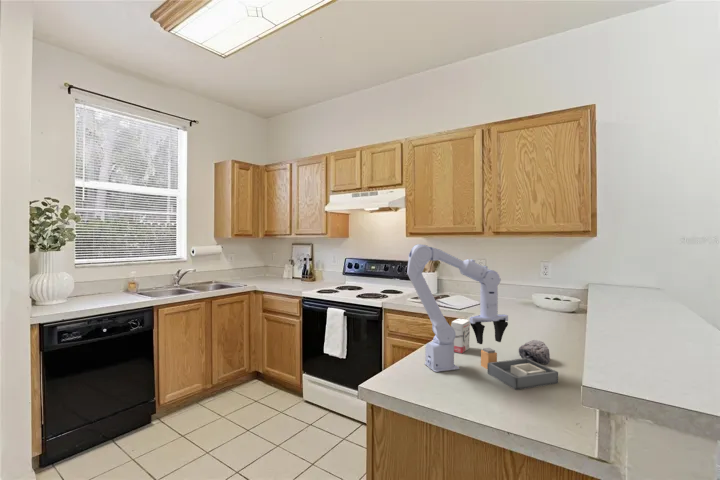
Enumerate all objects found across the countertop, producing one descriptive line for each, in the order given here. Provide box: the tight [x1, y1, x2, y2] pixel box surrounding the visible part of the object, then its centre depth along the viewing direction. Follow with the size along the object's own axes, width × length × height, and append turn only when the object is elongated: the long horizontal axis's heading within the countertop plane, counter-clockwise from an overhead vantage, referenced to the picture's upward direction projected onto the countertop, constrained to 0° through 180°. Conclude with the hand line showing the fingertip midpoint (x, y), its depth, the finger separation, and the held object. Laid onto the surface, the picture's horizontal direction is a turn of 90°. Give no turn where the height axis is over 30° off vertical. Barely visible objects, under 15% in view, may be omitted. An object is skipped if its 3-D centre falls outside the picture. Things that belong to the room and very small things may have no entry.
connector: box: [480, 347, 498, 370], centre depth 119 cm, size 4×4×6 cm
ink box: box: [450, 318, 471, 354], centre depth 137 cm, size 9×5×12 cm, turn 143°
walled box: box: [487, 358, 559, 391], centre depth 109 cm, size 16×13×4 cm
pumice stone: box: [518, 339, 551, 365], centre depth 125 cm, size 10×8×10 cm
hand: (489, 342), depth 119 cm, fingers open, 7 cm apart
